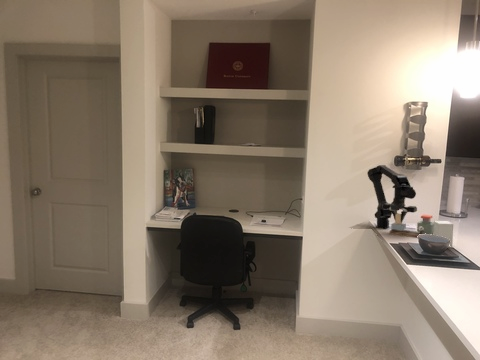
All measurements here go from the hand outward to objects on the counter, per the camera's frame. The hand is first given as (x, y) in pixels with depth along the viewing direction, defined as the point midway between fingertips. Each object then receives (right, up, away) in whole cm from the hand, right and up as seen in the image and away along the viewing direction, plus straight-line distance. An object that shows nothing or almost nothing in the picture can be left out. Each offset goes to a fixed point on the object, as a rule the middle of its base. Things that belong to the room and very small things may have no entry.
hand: (398, 221), depth 222 cm
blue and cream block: (0, -4, +1) cm, 4 cm away
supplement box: (+13, -10, -25) cm, 30 cm away
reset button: (+17, -3, +1) cm, 17 cm away
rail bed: (+4, -7, -3) cm, 9 cm away
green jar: (+17, -7, +1) cm, 18 cm away
